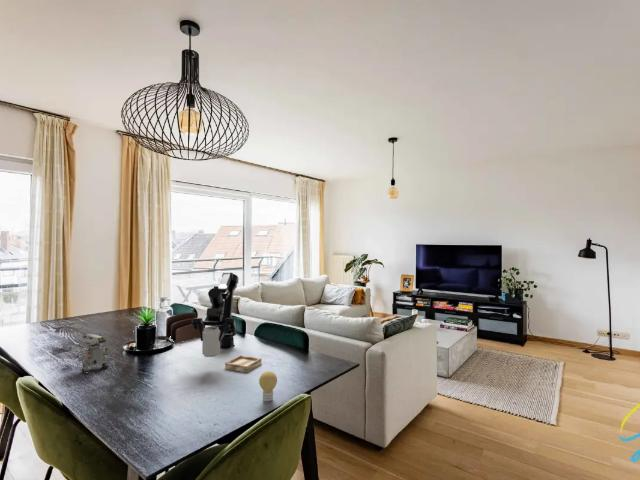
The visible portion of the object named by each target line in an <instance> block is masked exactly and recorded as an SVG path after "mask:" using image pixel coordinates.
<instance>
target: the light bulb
mask: <svg viewBox="0 0 640 480" xmlns="http://www.w3.org/2000/svg"><path fill="white" fill-rule="evenodd" d="M258 382H259V383H258V384H259V386H260V388H261V390H262V401H264V402H266V403H268V402H271V401H273V400H274V389H275V387H276V386H277V384H278V376H277V375H276V373H275V372H272V371H264V372H263V373H262V374H261V375H260V376H259V379H258Z"/></svg>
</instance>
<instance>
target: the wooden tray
mask: <svg viewBox="0 0 640 480" xmlns="http://www.w3.org/2000/svg"><path fill="white" fill-rule="evenodd" d="M224 365H225V366H224V369H225V370H231V371H237V372H242V373H249V372H250V371H252V370H254V369H256V368H257V367H259V366H260V365H262V358H261V357H255V356H254V357H253V356H248V355H237V356H236V357H234V358H232V359H230V360H229V361H226V362H225V363H224Z"/></svg>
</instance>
